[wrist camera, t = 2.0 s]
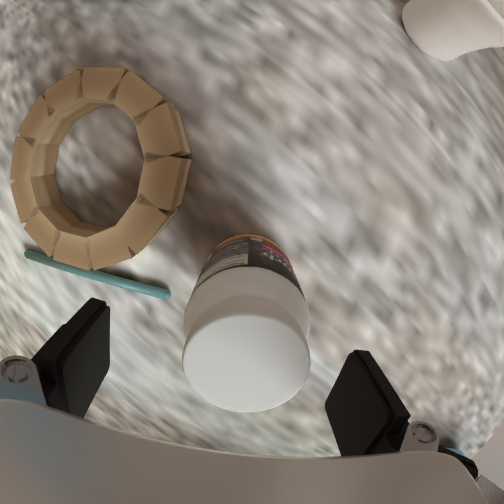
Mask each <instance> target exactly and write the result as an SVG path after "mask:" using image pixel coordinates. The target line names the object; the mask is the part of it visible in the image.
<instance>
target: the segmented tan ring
mask: <svg viewBox="0 0 504 504" xmlns="http://www.w3.org/2000/svg"><path fill="white" fill-rule="evenodd" d="M44 93H45V96H42V95H40V96H39V97H38V99H37V100H36V102H35V103H34V105H33V106H32V108H31V110H30V111H29V113H28V115H27V116H26V118H25V120H24V121H23V123H22V125H21V126H20V128H19V130H18V132H19V133H20V134H21V135H22V137H16V139H15V145H14V151H13V158H12V165H11V174H10V179H15V180H16V181H15V182H13V183H12V184H10V185H11V189H12V193H13V197H14V201H15V205H16V208H17V212H18V215H19V218H20V222H21V223H24V222H27V223H26V225H25V227H24V229H25V231H26V232H27V233H28V234H29V235H30V236H31V238H32V239H33V240H34V241H35V242H36V243H37V244H38V245H39V247H40V248H41V249H42V250H43V251H44V252H45V253H46V254H47V255H48V256H49V257H50V256H52V255H53V260H55V261H59V262H62V263H65V264H68V265H72V266H75V267H78V268H82V269H85V270H88V271H89V270H90V269H91V268H93V269H94V270H97V269H100V268H103V267H106V266H109V265H112V264H115V263H118V262H121V261H124V260H127V259H130V258H133V257H134V256H135V255H136V254H138V253H139V252H140V251H142V250H143V249H144V248H145V247H146V246H147V245H149V244H150V243H151V242H152V241H153V240H154V239H155V238H156V236H157V235H158V234H159V233H160V232H161V230H162V229H163V228H164V227H165V226H166V224H167V223H168V222H169V221H170V220H171V219H172V217H173V216H174V215H175V214H176V213H177V212H178V210H179V209H178V208H177V207H178V206H179V205H181V204H182V202H183V197H184V192H185V187H186V182H187V178H188V173H189V169H190V164H191V159H185V158H180V157H182V156H185V155H188V154H191V150H190V147H189V144H188V141H187V137H186V134H185V131H184V127H183V124H182V120H181V117H180V114H179V112H178V111H177V110H176V109H175V106H174V105H173V104H172V103H170V102H169V101H168V100H167V99H166V98H164V97H163V96H162V95H161V94H160V93H158V92H157V91H156V90H155V89H154V88H152V87H151V86H150V85H149V84H147V83H146V82H145V81H144V80H142V79H141V78H140V77H139V76H137V75H136V74H135V73H133V72H132V71H131V70H129V71H128V70H127V69H125V68H117V67H84V70H83V71H82V70H80V69H78V70H76V71H74V72H73V73H71V74H69V75H68V76H66V77H64V78H63V79H61V80H60V81H58V82H56V83H55V84H53V85H52V86H50V87H49V88H47V89H46V90H44ZM101 106H105V107H117V108H119V109H120V110H121V111H123V112H124V113H125V114H126V115H127V116H128V117H129V118H130V119H132V120H133V121H134V123H135V127H136V130H137V134H138V138H139V141H140V145H141V148H142V152H143V155H144V163H143V167H142V173H141V178H140V183H139V189H138V194H137V198H136V199H135V201H134V202H133V203H132V204H131V206H130V207H129V208H128V210H127V211H126V212H125V214H124V215H123V216H122V218H121V219H120V220H119V222H118V223H117V224H114V225H112V226H109V227H103V226H99V225H95V224H90V223H86V222H82V221H80V220H79V219H78V218H77V216H76V215H75V214H74V213H73V212H72V211H71V210H70V209H69V208H68V207H67V206H66V205H65V204H64V203H63V202H62V199H61V195H60V192H59V188H58V185H57V181H56V178H55V167H56V161H57V155H58V149H59V144H60V143H61V141H62V140H63V138H64V137H65V135H66V134H67V132H68V131H69V129H70V128H71V126H72V125H73V123H74V122H75V121H76V119H78V118H80V117H82V116H84V115H85V114H87V113H89V112H91V111H93V110H95V109H97V108H99V107H101Z"/></svg>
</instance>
